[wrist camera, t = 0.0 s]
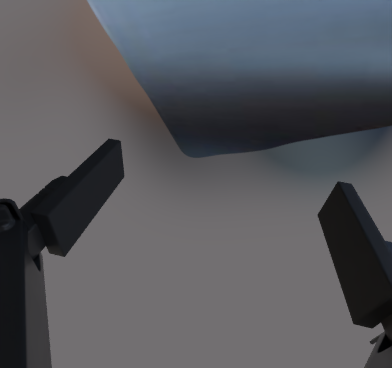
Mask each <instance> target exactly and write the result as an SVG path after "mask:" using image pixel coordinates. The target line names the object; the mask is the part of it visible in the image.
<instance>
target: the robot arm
mask: <svg viewBox="0 0 392 368" xmlns="http://www.w3.org/2000/svg"><path fill="white" fill-rule="evenodd" d="M123 178H124V168H123V159H122V149H121V141H119V140H113V139H108V140H107V141H106V142H105V143H104V144H103V145H102V146H100V147H99V148H98V149H97V150H96V151H95V152H94V153H93V154H92V155H91V156H90V157H89V158H87V160H85V161H84V162H83V163H82V164H81V165H80V166H79V167H78V168H77V169H76V170H75V171H74V172H72V173H71V174H70V175H69V176H68V177H66V176H60V177H59V178H56V179H54V180H52V181H51V182H50V183H49V184H48V185H46V186H45V188H43V189H42V190H41V191H40V192H39V193H38V194H36V195H35V196H34V197H33V198H32V199H30V200H29V201H28V202H27V203H26V204H25V205H24V206H22V207H21V208H20V209H18V207H17V205H16V203H15V202H14V201H12V200H11V199H0V368H52V366H51V354H50V342H49V330H48V319H47V306H46V294H45V283H44V271H43V259H42V255H41V251H42V250H43V248H44V247H45V246H46V247H47V249H48V251H49V253H51V254H55V255H59V256H63V257H65V256H66V254H67V253H68V252H69V250H70V249H71V248H72V246H73V245H74V244H75V242H76V241H77V239H78V238H79V237H80V236H81V234H82V233H83V232H84V230H85V229H86V228H87V226H88V225H89V223H90V222H91V221H92V219H93V218H94V216H95V215H96V214H97V213H98V211H99V210H100V209H101V207H102V206H103V204H104V203H105V202H106V200H107V199H108V198H109V196H110V195H111V194H112V192H113V191H114V190H115V188H116V187H117V186H118V184H119V183H120V182H121V180H122V179H123ZM318 218H319V221H320V224H321V227H322V230H323V233H324V236H325V239H326V242H327V245H328V248H329V251H330V254H331V257H332V260H333V263H334V266H335V269H336V272H337V275H338V278H339V281H340V284H341V288H342V290H343V293H344V296H345V299H346V303H347V306H348V309H349V312H350V315H351V318H352V321H353V324H356V325H360V326H364V327H368V328H374V327H375V326H376V325H378V324H379V323H382V325H383V328H384V330H385V332H383V333H381V334H380V335H378V336H377V337H375V338H374V339H372V340H371V341H370V343H371V344H374V343H375V342H376V345H375V347H374V349H373V351H372V353H371V355H370V357H369V359H368V361H367V363H366V365H365V367H364V368H392V242H388V241H385V240H384V239H383V237H382V235H381V233H380V232H379V230H378V228H377V227H376V225H375V223H374V221H373V220H372V218H371V216H370V215H369V213H368V211H367V209H366V208H365V206H364V205H363V203H362V201H361V199H360V197H359V196H358V194H357V192H356V191H355V189H354V187H353V186H352V184H349V183H344V182H337V184H336V185H335V187H334V189H333V190H332V192H331V194H330V196H329V197H328V199H327V200H326V202H325V204H324V205H323V207H322V209H321V210H320V212H319V213H318Z"/></svg>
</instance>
